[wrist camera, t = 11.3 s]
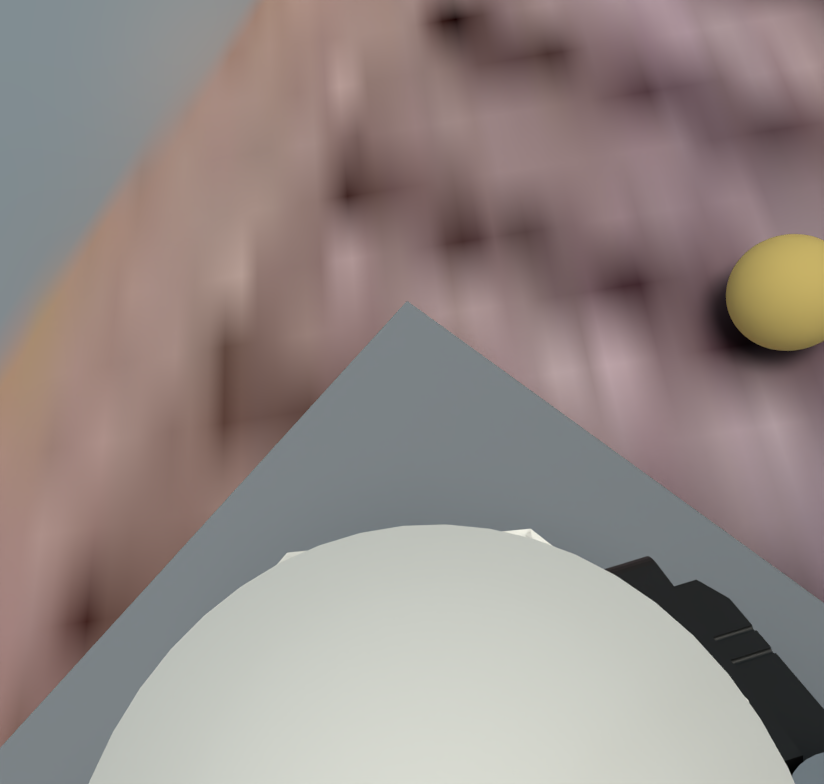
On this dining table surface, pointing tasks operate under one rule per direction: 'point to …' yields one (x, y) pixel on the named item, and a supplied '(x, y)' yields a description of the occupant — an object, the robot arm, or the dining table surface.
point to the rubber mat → (410, 522)
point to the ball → (780, 293)
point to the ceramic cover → (439, 677)
